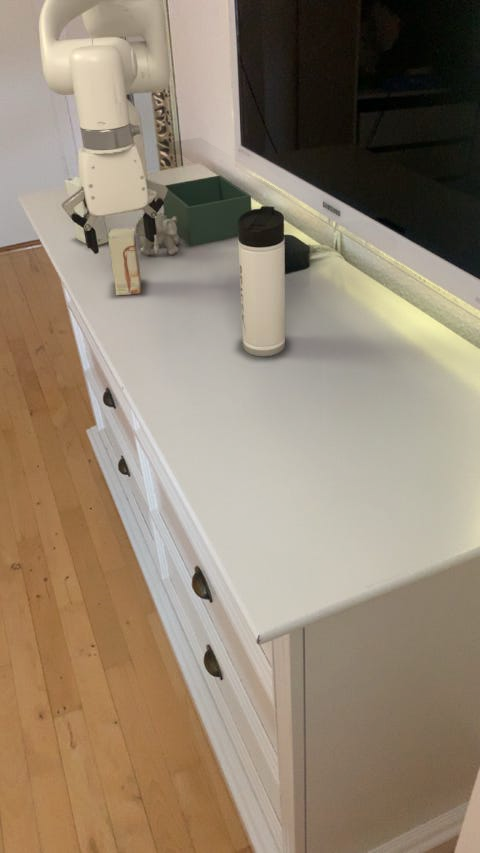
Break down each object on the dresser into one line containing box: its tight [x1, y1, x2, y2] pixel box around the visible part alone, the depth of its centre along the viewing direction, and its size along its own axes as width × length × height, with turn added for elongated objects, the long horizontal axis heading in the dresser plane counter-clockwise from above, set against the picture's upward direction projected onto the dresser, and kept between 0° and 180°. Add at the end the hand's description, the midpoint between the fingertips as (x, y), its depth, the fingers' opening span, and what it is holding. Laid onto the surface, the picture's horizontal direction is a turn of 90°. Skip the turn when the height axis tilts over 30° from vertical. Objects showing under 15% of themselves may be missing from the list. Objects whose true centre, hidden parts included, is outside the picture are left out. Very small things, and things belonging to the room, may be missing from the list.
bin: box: [162, 174, 252, 247], centre depth 142 cm, size 15×13×8 cm
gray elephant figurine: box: [135, 212, 181, 256], centre depth 131 cm, size 9×12×8 cm
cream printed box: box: [107, 227, 142, 296], centre depth 119 cm, size 5×4×10 cm
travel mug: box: [237, 205, 286, 357], centre depth 98 cm, size 6×7×20 cm
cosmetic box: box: [64, 175, 109, 246], centre depth 137 cm, size 6×4×12 cm
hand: (122, 245), depth 117 cm, fingers open, 9 cm apart
